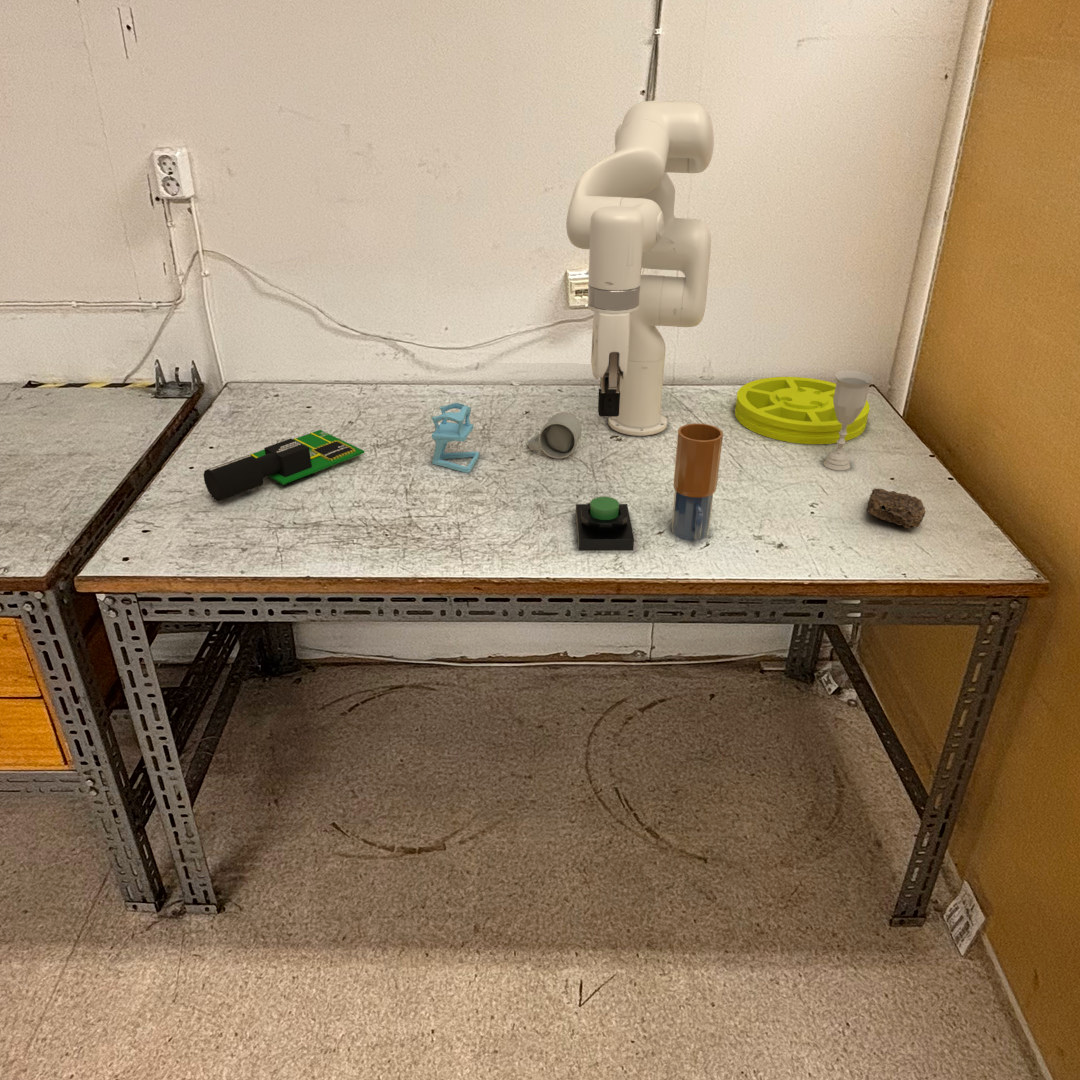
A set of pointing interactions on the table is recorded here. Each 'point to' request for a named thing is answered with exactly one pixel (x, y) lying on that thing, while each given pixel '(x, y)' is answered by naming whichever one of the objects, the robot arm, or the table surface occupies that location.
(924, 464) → the table surface
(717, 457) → the glass
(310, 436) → the circuit board with cylinder
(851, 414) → the chalice
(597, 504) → the button
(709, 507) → the mug
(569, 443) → the ceramic mug
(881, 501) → the concrete sample
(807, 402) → the pulley
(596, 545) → the button box
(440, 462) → the chair
